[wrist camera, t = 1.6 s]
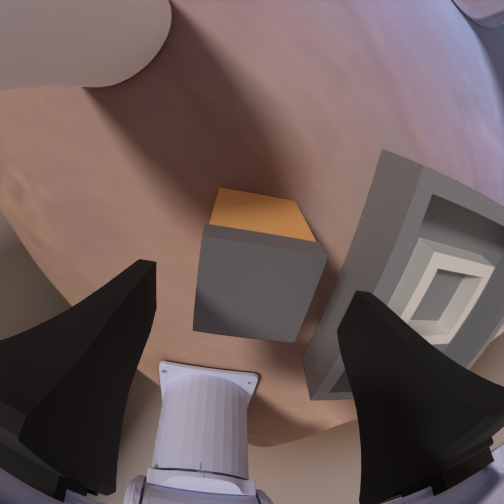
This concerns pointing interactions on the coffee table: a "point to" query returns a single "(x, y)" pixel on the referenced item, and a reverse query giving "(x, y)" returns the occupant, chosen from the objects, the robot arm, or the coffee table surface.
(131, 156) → the coffee table surface
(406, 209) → the box
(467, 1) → the beer glass
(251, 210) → the plug
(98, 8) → the can
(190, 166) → the coffee table surface
